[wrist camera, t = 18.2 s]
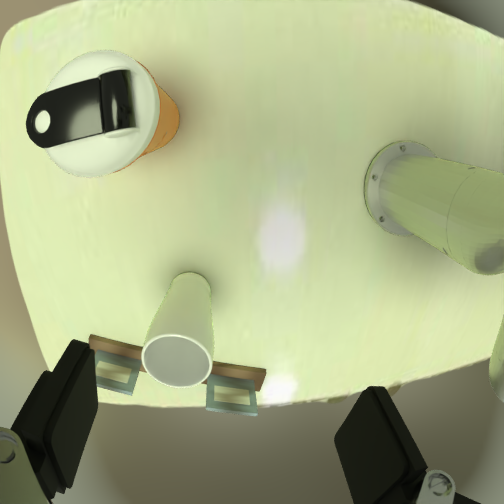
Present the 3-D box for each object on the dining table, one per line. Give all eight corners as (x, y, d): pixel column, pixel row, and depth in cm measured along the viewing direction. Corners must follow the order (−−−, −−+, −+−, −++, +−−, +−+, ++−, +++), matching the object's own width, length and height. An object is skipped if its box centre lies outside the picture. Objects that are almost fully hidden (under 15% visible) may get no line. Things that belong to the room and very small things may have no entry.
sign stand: (265, 369, 47) (272, 406, 40) (258, 387, 49) (264, 424, 41) (90, 334, 43) (72, 367, 36) (91, 354, 44) (74, 387, 37)
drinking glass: (216, 312, 43) (213, 391, 29) (166, 310, 43) (144, 386, 29) (217, 266, 41) (213, 335, 27) (163, 264, 40) (135, 330, 26)
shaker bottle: (106, 99, 32) (7, 80, 14) (177, 73, 32) (127, 16, 14) (125, 168, 36) (37, 204, 17) (196, 144, 35) (163, 155, 17)
